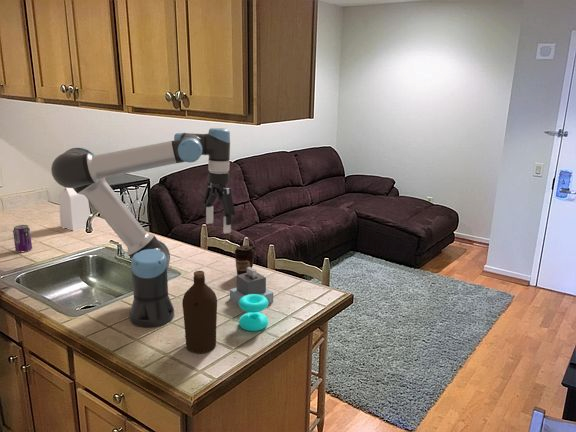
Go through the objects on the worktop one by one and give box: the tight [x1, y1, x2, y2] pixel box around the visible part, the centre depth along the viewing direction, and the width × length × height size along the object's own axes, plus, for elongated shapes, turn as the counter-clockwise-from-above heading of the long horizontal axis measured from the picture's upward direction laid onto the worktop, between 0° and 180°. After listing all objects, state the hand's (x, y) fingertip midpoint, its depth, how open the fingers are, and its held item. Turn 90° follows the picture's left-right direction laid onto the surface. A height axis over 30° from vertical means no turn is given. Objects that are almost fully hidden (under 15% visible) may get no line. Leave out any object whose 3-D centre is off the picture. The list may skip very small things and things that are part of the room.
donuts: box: [238, 294, 269, 332], centre depth 166 cm, size 10×10×10 cm
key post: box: [247, 267, 257, 280], centre depth 183 cm, size 2×4×9 cm, turn 38°
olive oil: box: [181, 270, 218, 354], centre depth 150 cm, size 11×11×25 cm
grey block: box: [236, 271, 267, 295], centre depth 184 cm, size 8×8×6 cm
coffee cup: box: [234, 245, 255, 276], centre depth 207 cm, size 9×8×13 cm
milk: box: [58, 187, 91, 232], centre depth 268 cm, size 12×12×26 cm
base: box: [229, 287, 274, 305], centre depth 185 cm, size 12×12×4 cm
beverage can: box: [12, 224, 33, 253], centre depth 232 cm, size 7×7×12 cm
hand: (218, 228), depth 180 cm, fingers open, 13 cm apart
